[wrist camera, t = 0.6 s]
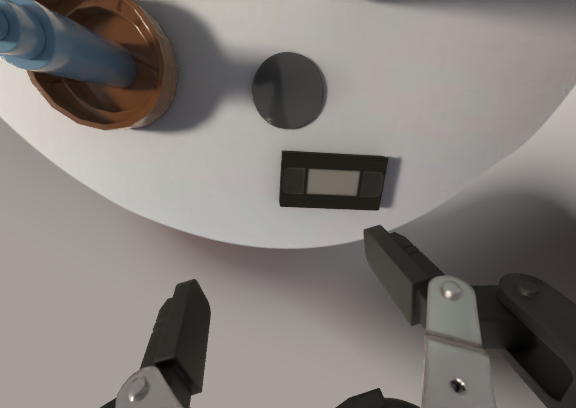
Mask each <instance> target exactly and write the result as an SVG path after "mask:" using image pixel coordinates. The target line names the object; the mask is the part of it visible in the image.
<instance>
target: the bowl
mask: <svg viewBox="0 0 576 408" xmlns="http://www.w3.org/2000/svg"><path fill="white" fill-rule="evenodd" d="M34 1H36V2H38V3H40V4H42V5H44V6H46V7H48V8H50V9H52V10H54V11H56V12H58V13H60V14H62V15H64V16H66V17H68V18H70V19H72V20H74V21H76V22H78V23H79V24H81V25H83V26H85V27H87V28H89V29H91V30H93V31H95V32H97V33H99V34H101V35H103V36H105V37H107V38H109V39H111V40H113V41H115V42H117V43H119V44H121V45H123V46H124V47H125V48H127V49H128V50H129V51H130V53H131V54H132V55H133V57H134V59H135V62H136V65H137V76H136V79H135V81H134V82H133V83H132V84H131V85H130V86H129V87H127V88H124V89H115V88H110V87H106V86H101V85H96V84H91V83H87V82H82V81H77V80H73V79H68V78H63V77H58V76H54V75H49V74H44V73H40V72H35V71H30V70H27V72H28V75H29V77H30V80H31V82H32V84H33V85H34V86H35V87H36V88H37V89H38V91H39V92H40V93H41V94H42V95H43V97H44V98H45V99H46V100H47V101H48V103H49V104H50V105H51V106H52V107H53V108H54V109H56V110H58V111H59V112H61V113H62V114H64V115H65V116H67V117H68V118H70V119H72V120H73V121H75V122H76V123H78V124H81V125H85V126H89V127H93V128H97V129H101V130H122V129H130V128H137V127H144V126H147V125H148V124H150V123H151V122H153V121H154V120H156V119H157V118H159V117H160V116H162V115H163V114H164V113H165V111H166V110H167V108H168V106H169V105H170V103H171V101H172V99H173V98H174V96H175V90H176V81H177V73H178V70H177V66H176V61H175V57H174V53H173V49H172V45H171V43H170V41H169V40H168V38H167V37H166V35H165V34H164V32H163V31H162V29H161V27H160V26H159V24H158V23H157V21H156V20H155V19H154V18H153V17H152V16H151V15H150V14H149V13H147V12H146V11H145V10H144V9H143V8H142V7H141V6H139V5H138V4H137V3H136V2H134V1H133V0H34Z"/></svg>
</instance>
